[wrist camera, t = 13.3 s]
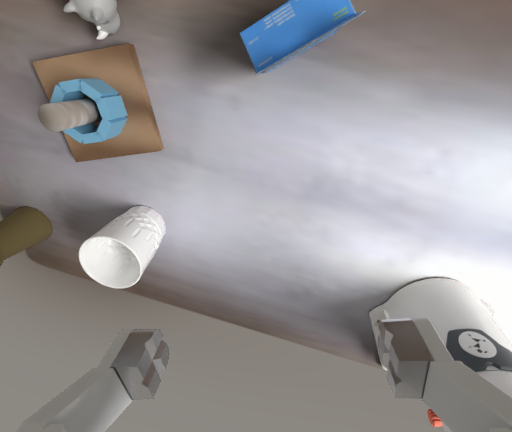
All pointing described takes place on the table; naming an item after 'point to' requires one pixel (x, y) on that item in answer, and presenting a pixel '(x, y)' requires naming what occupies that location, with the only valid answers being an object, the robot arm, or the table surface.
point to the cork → (22, 231)
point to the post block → (86, 110)
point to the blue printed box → (294, 30)
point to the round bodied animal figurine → (97, 14)
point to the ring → (107, 105)
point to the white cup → (123, 247)
